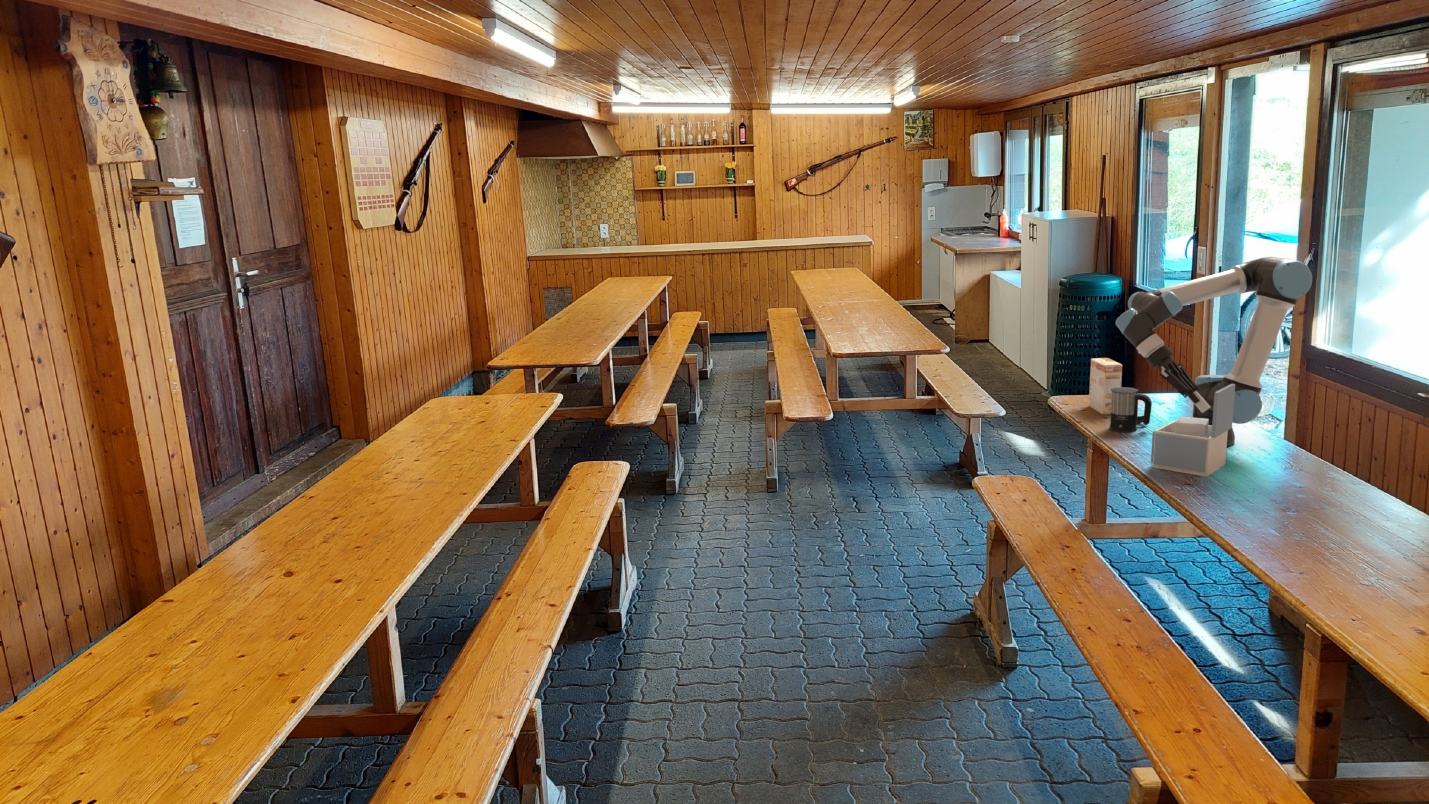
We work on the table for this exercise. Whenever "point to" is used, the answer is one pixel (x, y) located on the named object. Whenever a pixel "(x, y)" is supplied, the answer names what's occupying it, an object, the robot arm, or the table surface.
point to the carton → (1188, 451)
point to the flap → (1223, 410)
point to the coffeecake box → (1103, 383)
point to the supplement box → (1192, 426)
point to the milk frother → (1128, 409)
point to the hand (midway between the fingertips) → (1206, 409)
